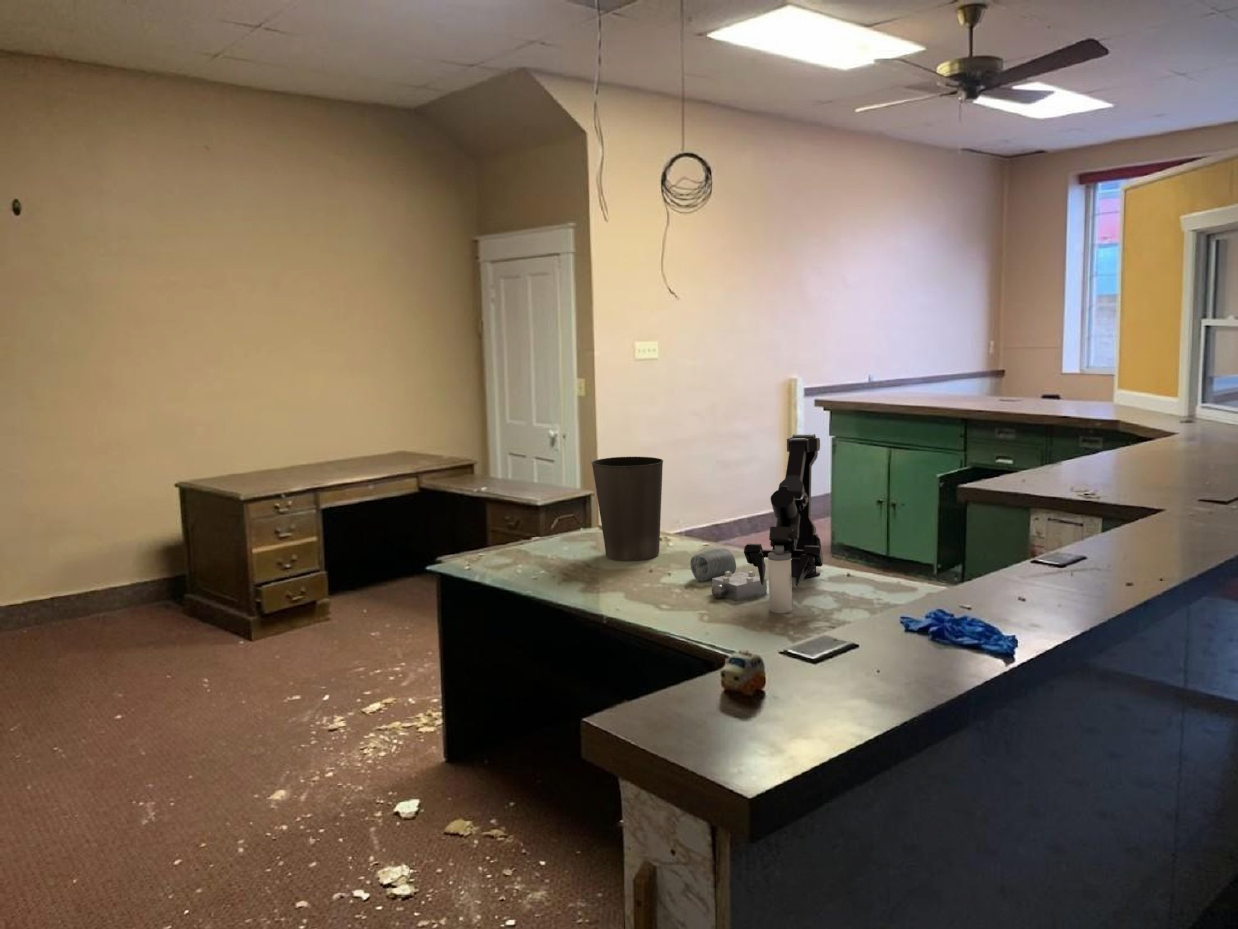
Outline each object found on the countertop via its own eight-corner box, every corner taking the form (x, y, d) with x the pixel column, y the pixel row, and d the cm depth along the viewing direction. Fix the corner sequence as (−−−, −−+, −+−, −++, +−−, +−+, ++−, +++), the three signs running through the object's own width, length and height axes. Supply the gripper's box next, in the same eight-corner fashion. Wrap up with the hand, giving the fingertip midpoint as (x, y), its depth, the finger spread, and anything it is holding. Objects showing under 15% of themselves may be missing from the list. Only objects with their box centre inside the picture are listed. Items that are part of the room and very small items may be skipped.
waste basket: (582, 553, 298) (577, 460, 294) (636, 543, 308) (631, 453, 304) (627, 568, 275) (621, 468, 271) (683, 557, 285) (678, 460, 281)
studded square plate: (741, 586, 248) (741, 568, 248) (766, 593, 240) (766, 575, 239) (703, 595, 241) (702, 576, 241) (727, 603, 233) (727, 584, 232)
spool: (702, 575, 249) (699, 540, 253) (685, 584, 257) (682, 550, 261) (745, 580, 255) (741, 545, 259) (726, 589, 262) (723, 555, 266)
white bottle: (781, 605, 229) (779, 542, 227) (797, 610, 224) (795, 545, 222) (765, 609, 226) (762, 545, 224) (780, 614, 221) (778, 549, 219)
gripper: (744, 511, 229) (734, 566, 221) (820, 513, 222) (813, 569, 214) (752, 536, 238) (743, 589, 229) (825, 538, 231) (819, 593, 222)
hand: (779, 584), depth 223 cm, fingers open, 8 cm apart
